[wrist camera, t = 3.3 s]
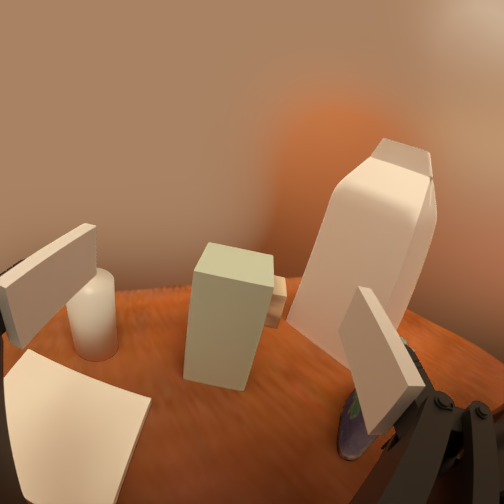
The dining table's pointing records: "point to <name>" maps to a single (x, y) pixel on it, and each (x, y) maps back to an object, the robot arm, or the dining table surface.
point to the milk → (368, 243)
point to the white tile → (69, 432)
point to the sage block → (227, 315)
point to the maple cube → (276, 303)
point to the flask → (354, 428)
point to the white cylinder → (94, 318)
